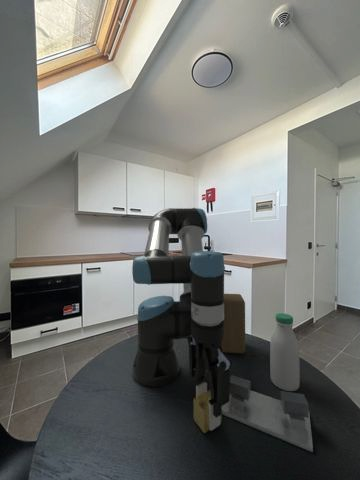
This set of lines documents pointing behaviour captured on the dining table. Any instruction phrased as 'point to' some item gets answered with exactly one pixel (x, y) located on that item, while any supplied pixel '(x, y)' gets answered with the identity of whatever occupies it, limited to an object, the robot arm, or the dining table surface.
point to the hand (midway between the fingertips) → (207, 417)
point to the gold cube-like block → (202, 411)
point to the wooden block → (234, 324)
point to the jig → (270, 413)
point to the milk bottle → (284, 354)
